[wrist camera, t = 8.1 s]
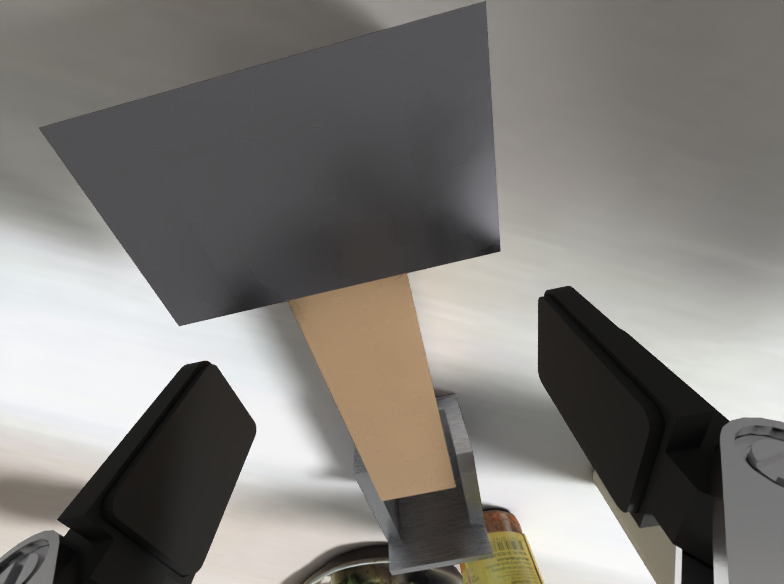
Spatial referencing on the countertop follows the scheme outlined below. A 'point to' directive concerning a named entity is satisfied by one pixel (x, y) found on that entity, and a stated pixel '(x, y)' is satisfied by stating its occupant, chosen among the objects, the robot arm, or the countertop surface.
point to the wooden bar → (380, 382)
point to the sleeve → (434, 508)
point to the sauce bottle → (503, 554)
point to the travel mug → (645, 541)
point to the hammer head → (301, 169)
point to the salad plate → (379, 570)
